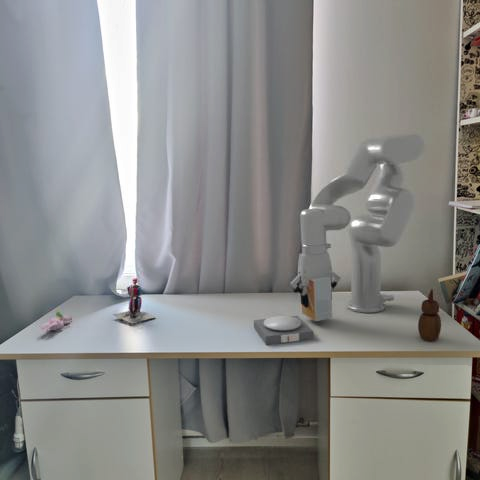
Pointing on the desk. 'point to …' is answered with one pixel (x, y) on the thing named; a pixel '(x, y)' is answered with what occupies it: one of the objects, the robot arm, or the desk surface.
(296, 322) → the scale
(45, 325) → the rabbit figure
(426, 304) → the wooden figurine
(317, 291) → the small box
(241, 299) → the desk surface
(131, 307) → the statue
